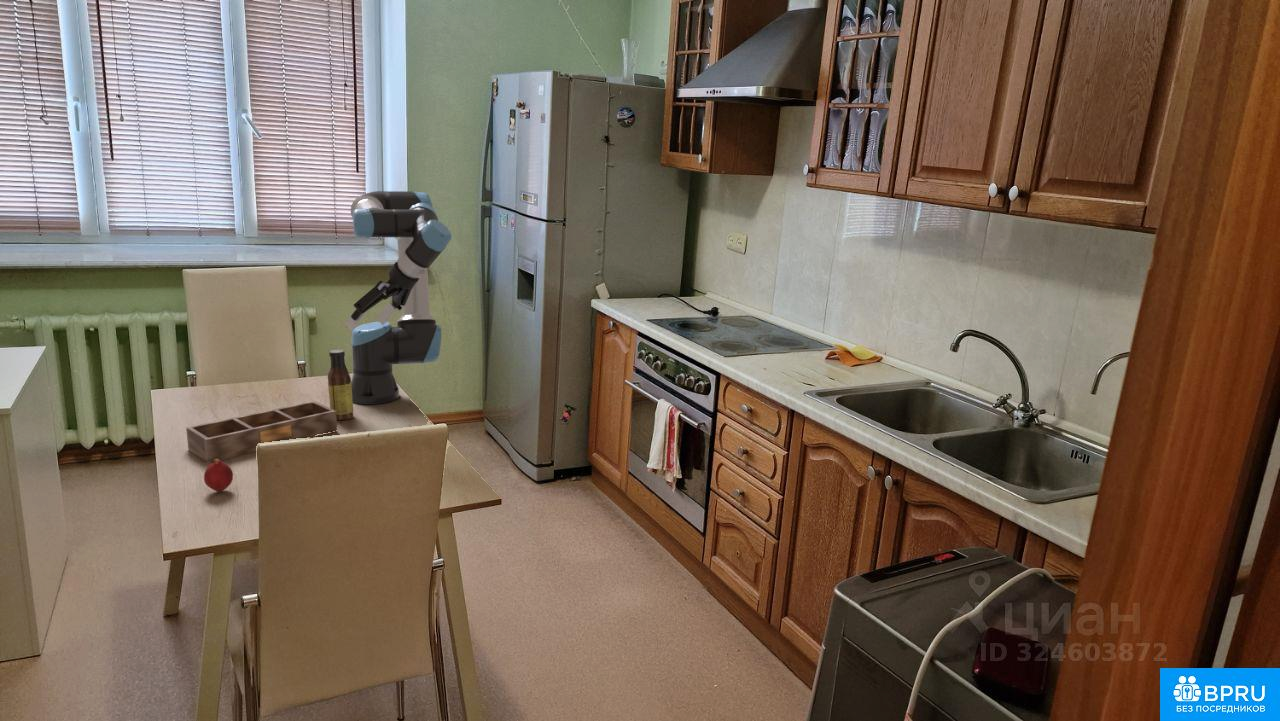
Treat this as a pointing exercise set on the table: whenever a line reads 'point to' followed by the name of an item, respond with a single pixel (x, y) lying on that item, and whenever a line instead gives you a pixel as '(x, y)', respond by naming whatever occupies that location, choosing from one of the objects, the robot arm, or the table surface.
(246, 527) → the table surface
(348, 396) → the sauce bottle
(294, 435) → the wooden compartment tray
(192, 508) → the table surface
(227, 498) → the table surface
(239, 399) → the table surface
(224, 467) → the onion
